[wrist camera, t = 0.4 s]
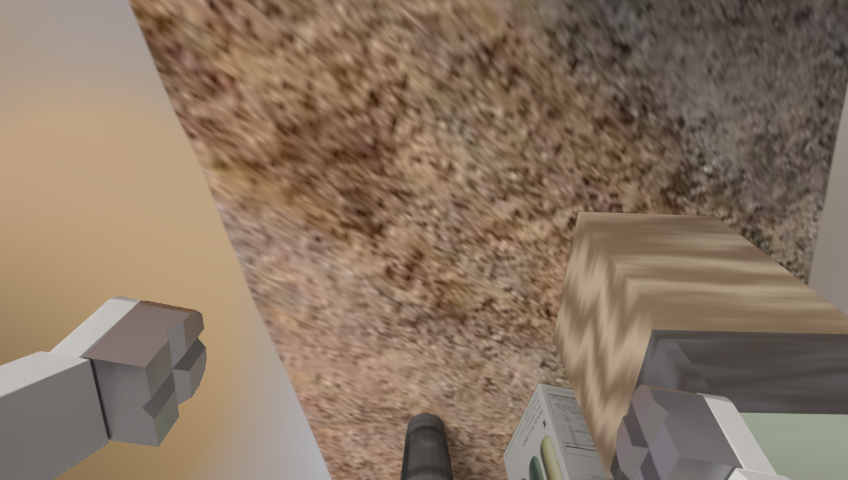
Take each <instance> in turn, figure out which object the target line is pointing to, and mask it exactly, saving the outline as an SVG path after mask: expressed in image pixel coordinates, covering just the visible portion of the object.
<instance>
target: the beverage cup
mask: <svg viewBox="0 0 848 480" xmlns="http://www.w3.org/2000/svg"><path fill="white" fill-rule="evenodd" d="M400 480H453V474H452V468H451V463H450V457H449V451H448V446H447V440H446V434H445V432H444V428H443V423H442V420H441V419H440V418H439V417H437V416H435V415H433V414H419V415H416V416H415V417H413V418H412V419H411V420H410V421H409V423H408V429H407V433H406V439H405V447H404V455H403V463H402V471H401V479H400Z"/></svg>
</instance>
